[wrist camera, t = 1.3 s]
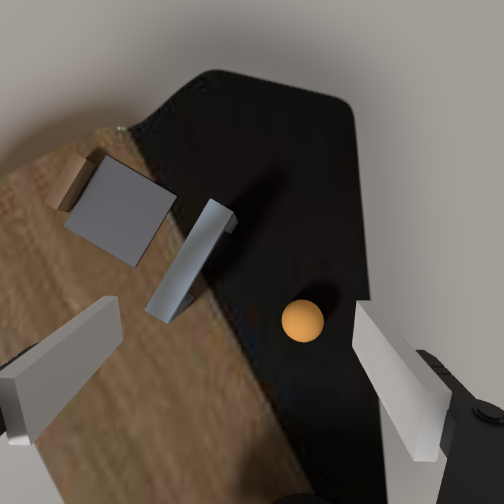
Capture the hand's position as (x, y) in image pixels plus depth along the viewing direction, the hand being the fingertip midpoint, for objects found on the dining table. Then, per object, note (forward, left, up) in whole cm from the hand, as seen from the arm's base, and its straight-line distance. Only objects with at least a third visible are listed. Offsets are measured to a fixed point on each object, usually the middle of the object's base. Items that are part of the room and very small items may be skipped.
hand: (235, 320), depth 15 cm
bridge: (+7, +1, -25) cm, 26 cm away
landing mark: (+21, +1, -25) cm, 33 cm away
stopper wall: (+28, +1, -25) cm, 38 cm away
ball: (-9, +1, -22) cm, 24 cm away
